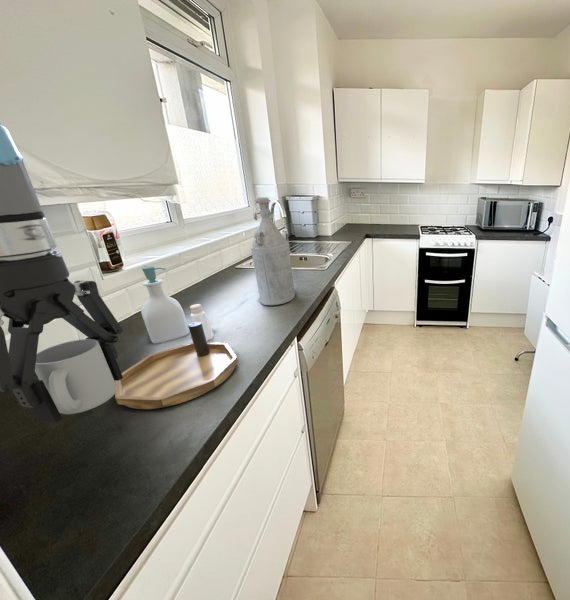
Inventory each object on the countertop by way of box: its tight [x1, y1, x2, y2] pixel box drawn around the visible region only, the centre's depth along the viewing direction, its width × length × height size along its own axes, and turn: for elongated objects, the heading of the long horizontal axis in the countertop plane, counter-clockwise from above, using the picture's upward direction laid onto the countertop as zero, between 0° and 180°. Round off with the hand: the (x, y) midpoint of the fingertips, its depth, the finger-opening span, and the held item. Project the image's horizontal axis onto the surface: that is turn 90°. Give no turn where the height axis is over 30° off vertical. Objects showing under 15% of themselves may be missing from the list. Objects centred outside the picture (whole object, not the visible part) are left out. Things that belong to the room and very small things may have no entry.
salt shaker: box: [189, 303, 215, 342], centre depth 94 cm, size 5×5×11 cm
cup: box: [35, 338, 117, 415], centre depth 47 cm, size 7×10×9 cm
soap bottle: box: [140, 265, 190, 344], centre depth 93 cm, size 10×10×23 cm
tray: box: [114, 322, 239, 410], centre depth 75 cm, size 24×24×10 cm
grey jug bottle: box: [249, 196, 296, 306], centre depth 119 cm, size 13×17×40 cm
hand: (85, 397), depth 48 cm, fingers closed on cup, 9 cm apart
